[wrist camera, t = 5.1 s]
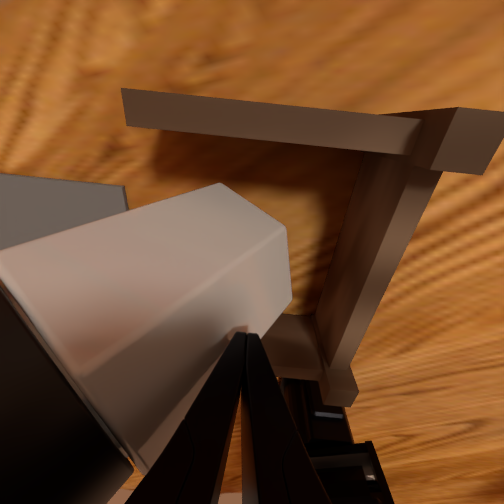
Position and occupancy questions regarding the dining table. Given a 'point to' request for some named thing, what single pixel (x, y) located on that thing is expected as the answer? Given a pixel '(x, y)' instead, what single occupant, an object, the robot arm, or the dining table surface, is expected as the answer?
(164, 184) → the dining table surface
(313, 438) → the robot arm
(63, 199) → the bench mat
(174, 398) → the jar
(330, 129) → the brown u-shaped frame
